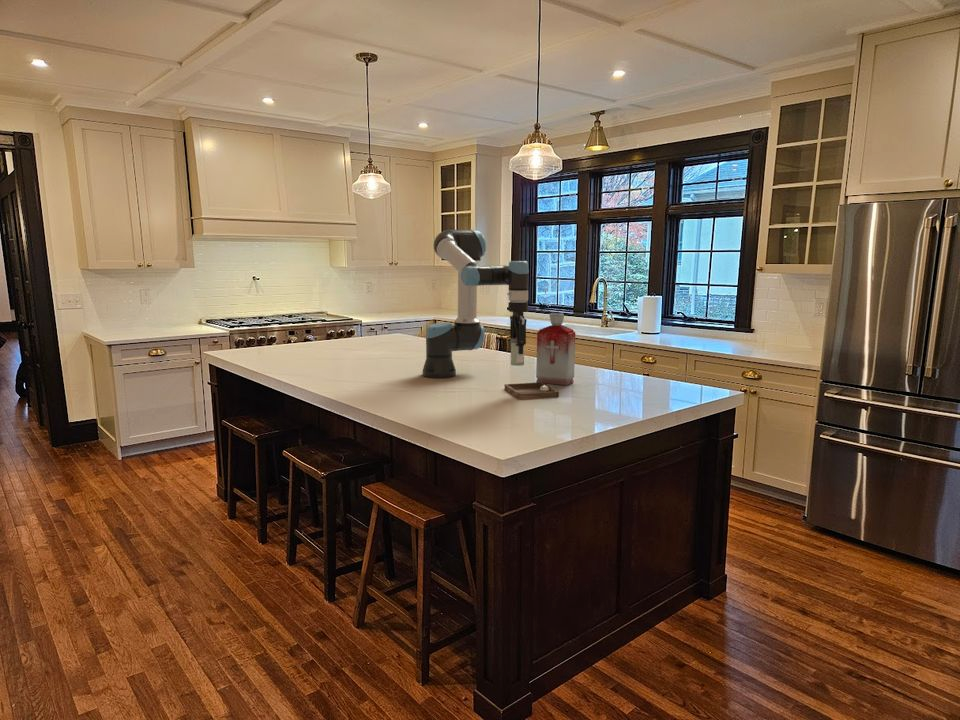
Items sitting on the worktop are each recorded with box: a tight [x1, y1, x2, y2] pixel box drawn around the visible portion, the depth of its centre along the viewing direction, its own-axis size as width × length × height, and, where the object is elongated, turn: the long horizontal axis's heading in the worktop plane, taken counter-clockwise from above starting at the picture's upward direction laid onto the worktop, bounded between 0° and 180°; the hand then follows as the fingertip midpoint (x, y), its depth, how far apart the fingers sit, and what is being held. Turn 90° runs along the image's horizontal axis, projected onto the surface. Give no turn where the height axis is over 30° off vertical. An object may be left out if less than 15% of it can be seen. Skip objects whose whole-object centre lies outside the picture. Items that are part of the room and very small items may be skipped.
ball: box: [540, 385, 549, 392], centre depth 244 cm, size 4×4×4 cm
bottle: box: [535, 312, 576, 387], centre depth 264 cm, size 14×10×30 cm
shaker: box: [510, 337, 525, 367], centre depth 243 cm, size 6×6×11 cm
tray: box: [504, 382, 560, 400], centre depth 247 cm, size 18×16×2 cm
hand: (517, 360), depth 244 cm, fingers closed on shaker, 5 cm apart
